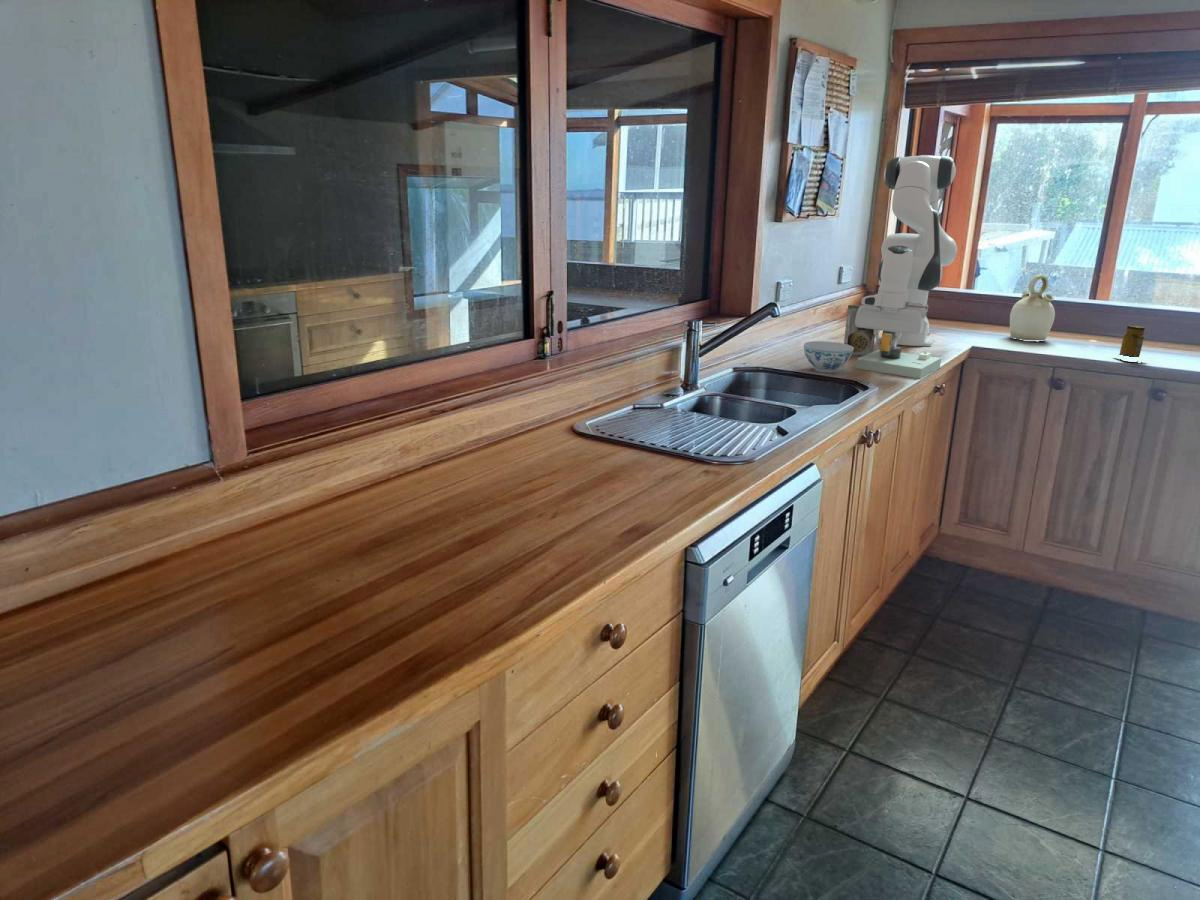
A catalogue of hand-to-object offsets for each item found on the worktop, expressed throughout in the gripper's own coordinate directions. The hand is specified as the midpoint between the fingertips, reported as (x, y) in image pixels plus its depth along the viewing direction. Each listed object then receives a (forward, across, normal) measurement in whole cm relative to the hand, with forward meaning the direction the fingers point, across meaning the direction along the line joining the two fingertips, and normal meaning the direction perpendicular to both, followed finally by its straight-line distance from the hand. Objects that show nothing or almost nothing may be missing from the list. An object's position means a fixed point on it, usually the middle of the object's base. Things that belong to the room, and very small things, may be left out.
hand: (885, 345), depth 265 cm
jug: (+8, -29, -98) cm, 102 cm away
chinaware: (+8, +14, +14) cm, 21 cm away
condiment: (+8, -64, -78) cm, 101 cm away
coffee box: (+8, +14, -20) cm, 26 cm away
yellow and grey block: (+5, 0, -4) cm, 6 cm away
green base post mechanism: (+8, -3, -7) cm, 11 cm away
